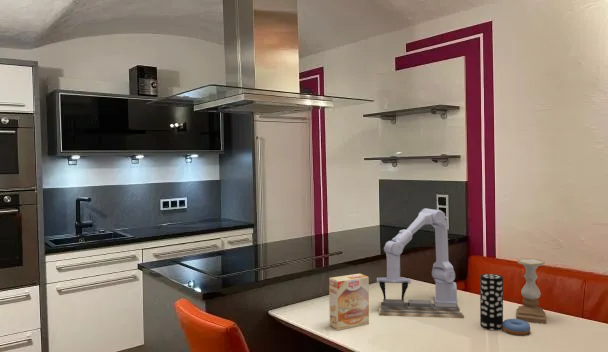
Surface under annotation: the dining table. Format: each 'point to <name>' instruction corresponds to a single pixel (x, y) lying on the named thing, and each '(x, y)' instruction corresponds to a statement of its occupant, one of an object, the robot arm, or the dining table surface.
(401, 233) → the robot arm
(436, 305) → the key
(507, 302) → the dining table surface
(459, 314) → the switch unit
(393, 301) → the key
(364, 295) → the coffeecake box
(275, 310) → the dining table surface
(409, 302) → the key middle
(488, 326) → the spotted tube
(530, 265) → the candle holder
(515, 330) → the doughnut
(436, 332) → the dining table surface
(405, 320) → the dining table surface
